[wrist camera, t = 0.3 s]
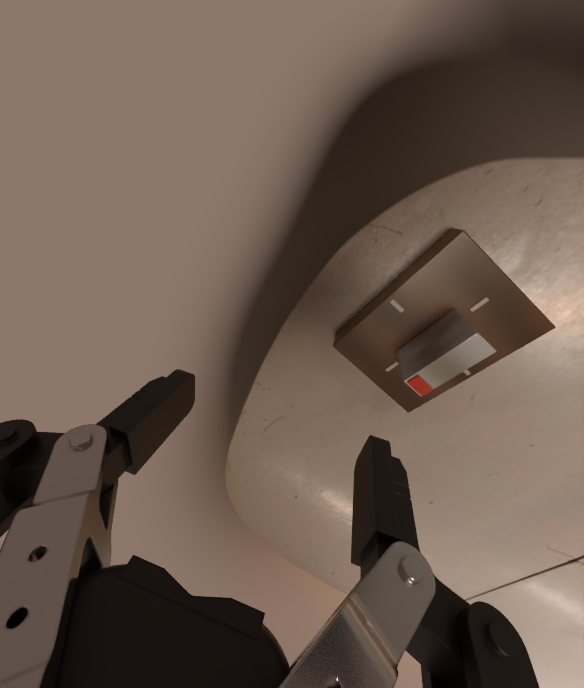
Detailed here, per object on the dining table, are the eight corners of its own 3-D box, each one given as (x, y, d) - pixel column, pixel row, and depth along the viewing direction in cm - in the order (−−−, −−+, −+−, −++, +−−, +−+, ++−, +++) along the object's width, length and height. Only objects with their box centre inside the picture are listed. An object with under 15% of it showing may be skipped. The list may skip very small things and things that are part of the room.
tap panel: (451, 227, 21) (464, 230, 19) (534, 314, 23) (557, 328, 20) (335, 333, 28) (332, 346, 26) (404, 395, 30) (408, 413, 27)
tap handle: (454, 308, 21) (479, 333, 17) (470, 323, 22) (499, 353, 17) (396, 351, 24) (403, 383, 20) (410, 364, 24) (421, 399, 20)
